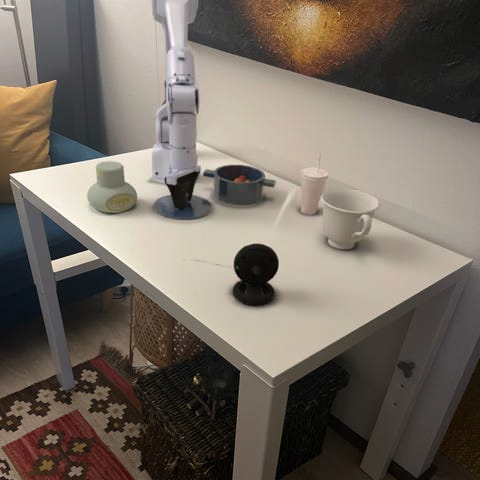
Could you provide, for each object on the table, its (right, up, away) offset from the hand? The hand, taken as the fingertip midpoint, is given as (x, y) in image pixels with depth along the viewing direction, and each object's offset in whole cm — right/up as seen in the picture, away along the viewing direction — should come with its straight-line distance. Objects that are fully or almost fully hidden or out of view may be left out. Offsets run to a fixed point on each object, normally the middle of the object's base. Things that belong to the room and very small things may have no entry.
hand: (182, 204), depth 115 cm
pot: (+13, +4, +9) cm, 16 cm away
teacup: (+36, -11, -9) cm, 38 cm away
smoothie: (+30, -1, +5) cm, 30 cm away
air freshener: (-16, -1, -1) cm, 16 cm away
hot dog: (+13, +4, +9) cm, 16 cm away
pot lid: (0, -1, 0) cm, 1 cm away
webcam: (+16, -22, -26) cm, 38 cm away
